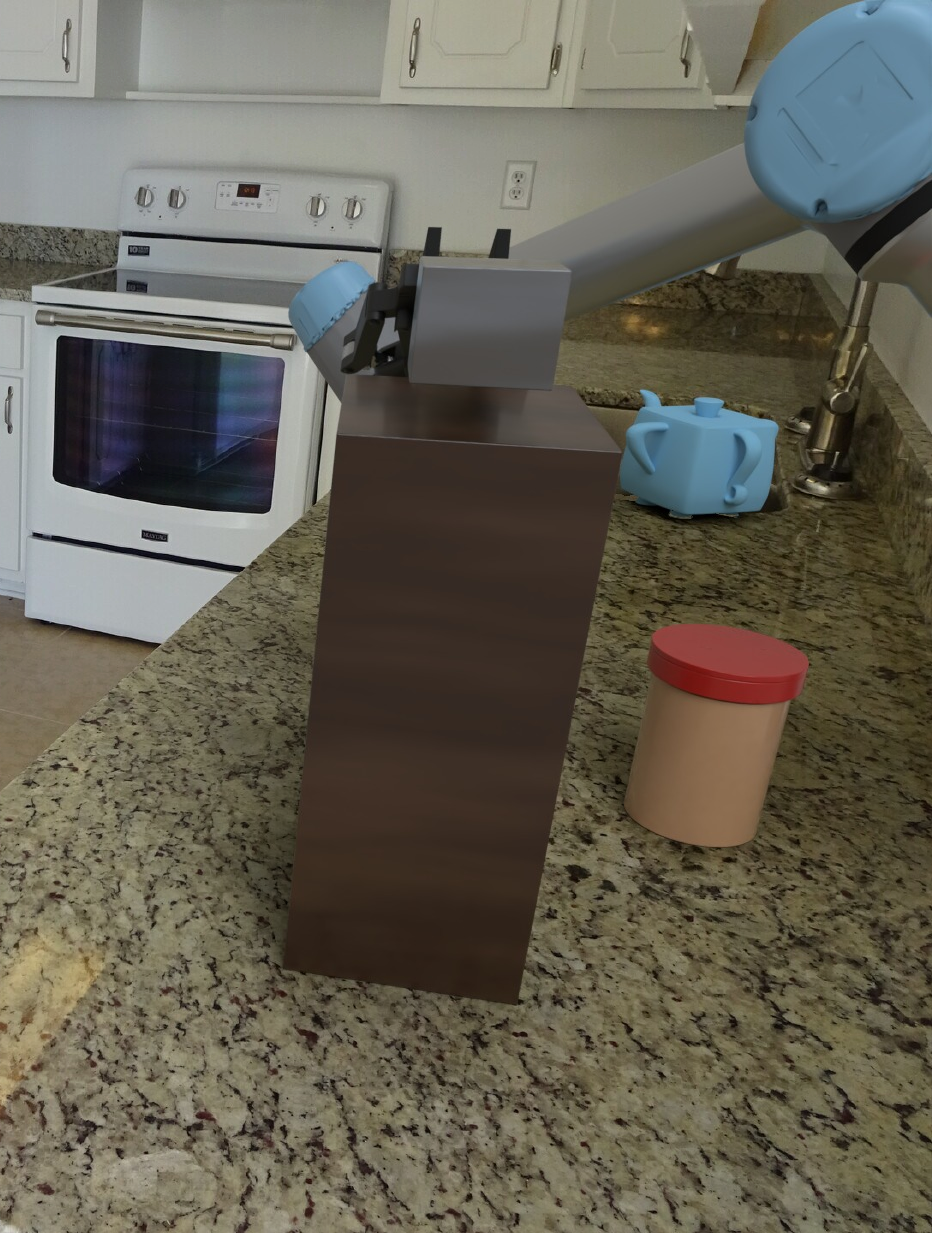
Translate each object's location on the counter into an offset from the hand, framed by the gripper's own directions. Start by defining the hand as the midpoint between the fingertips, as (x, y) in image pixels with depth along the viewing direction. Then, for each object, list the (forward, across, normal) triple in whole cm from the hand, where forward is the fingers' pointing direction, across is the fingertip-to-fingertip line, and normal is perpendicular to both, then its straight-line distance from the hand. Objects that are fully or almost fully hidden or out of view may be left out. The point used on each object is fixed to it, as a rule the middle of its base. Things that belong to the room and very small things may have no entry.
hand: (467, 251), depth 70 cm
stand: (-7, 0, -37) cm, 38 cm away
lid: (-15, -19, -19) cm, 31 cm away
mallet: (+2, 0, -6) cm, 6 cm away
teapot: (-93, -35, +12) cm, 100 cm away
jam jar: (-21, -19, -29) cm, 40 cm away
